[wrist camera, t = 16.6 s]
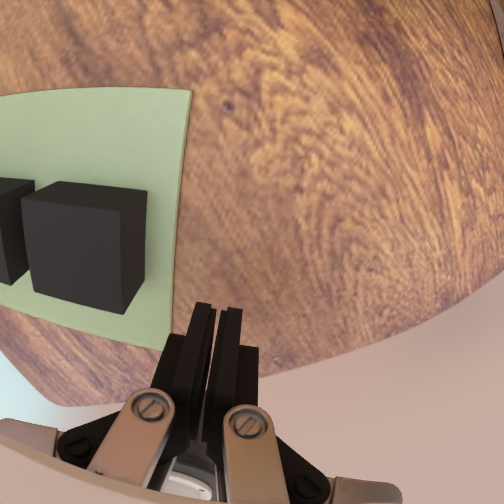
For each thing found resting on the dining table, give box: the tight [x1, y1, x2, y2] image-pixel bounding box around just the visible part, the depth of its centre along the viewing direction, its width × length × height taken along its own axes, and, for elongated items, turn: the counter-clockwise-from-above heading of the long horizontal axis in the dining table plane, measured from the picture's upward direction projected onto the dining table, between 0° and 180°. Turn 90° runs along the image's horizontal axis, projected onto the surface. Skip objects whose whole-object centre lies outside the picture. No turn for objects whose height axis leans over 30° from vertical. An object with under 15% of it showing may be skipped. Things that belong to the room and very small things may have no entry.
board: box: [0, 87, 193, 351], centre depth 17 cm, size 18×18×3 cm
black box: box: [21, 181, 148, 315], centre depth 16 cm, size 6×6×4 cm
